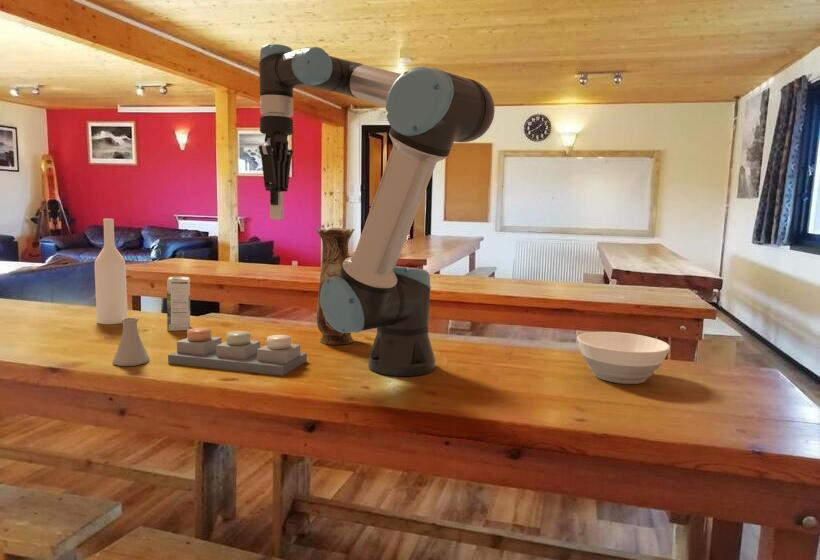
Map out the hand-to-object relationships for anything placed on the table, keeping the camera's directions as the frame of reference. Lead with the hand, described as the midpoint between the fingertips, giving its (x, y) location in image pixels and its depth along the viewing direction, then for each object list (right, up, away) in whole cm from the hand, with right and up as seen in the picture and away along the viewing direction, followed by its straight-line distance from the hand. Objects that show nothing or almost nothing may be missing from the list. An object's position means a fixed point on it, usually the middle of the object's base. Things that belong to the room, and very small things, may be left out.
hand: (276, 219), depth 140 cm
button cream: (+2, -31, -8) cm, 32 cm away
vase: (+12, -31, +18) cm, 37 cm away
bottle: (-56, -27, +33) cm, 70 cm away
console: (-7, -33, -5) cm, 34 cm away
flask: (-31, -33, -8) cm, 46 cm away
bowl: (+78, -36, -8) cm, 87 cm away
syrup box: (-33, -28, +27) cm, 51 cm away
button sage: (-7, -31, -6) cm, 32 cm away
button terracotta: (-17, -30, -3) cm, 35 cm away
